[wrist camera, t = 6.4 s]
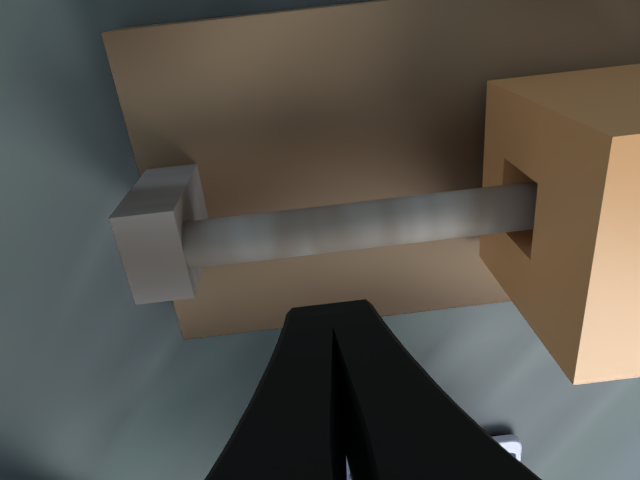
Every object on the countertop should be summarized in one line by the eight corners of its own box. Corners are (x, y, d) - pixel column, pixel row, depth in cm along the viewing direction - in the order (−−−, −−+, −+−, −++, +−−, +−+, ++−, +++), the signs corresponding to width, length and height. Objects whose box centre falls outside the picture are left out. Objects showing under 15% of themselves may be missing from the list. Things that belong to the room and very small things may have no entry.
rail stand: (689, 256, 19) (882, 384, 13) (190, 314, 19) (144, 473, 13) (765, -43, 15) (1112, -67, 9) (117, 28, 15) (-7, 56, 8)
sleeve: (616, 240, 17) (776, 360, 11) (479, 256, 16) (573, 385, 11) (648, 62, 14) (872, 107, 9) (487, 80, 14) (612, 136, 9)
